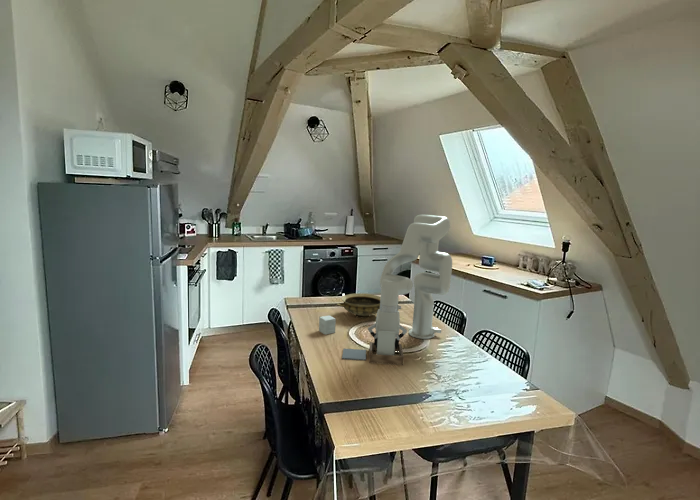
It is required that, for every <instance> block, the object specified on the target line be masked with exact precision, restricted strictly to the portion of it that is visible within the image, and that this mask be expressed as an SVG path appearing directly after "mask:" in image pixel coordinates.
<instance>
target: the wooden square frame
mask: <svg viewBox="0 0 700 500" xmlns="http://www.w3.org/2000/svg"><path fill="white" fill-rule="evenodd" d="M374 350H375V351H374ZM376 350H377V348H376V345H374V341H372V342H371V341H369V350H368V352H369V354H368V356H369V358H368V359H369V364H381V365H395V366H396V365H397V366H404V360H405V357H404V351H403V346H402V344H401V343H399V347H397V349H395V351H397V352H396V353H398V355H395V354H394V355H378V354H377V353H375V354H374V353H373V352H377V351H376ZM398 351H399V352H398Z"/></svg>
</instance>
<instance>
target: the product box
mask: <svg viewBox="0 0 700 500" xmlns="http://www.w3.org/2000/svg"><path fill="white" fill-rule="evenodd" d="M318 320H319V321H318V332H319V333H321V334H323V335H325V336H326V335H329V334H334V333H336V321H337V320H336V318H335V317H333V316H331V315H323V316H319V319H318Z"/></svg>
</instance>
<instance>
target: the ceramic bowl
mask: <svg viewBox="0 0 700 500" xmlns="http://www.w3.org/2000/svg"><path fill="white" fill-rule="evenodd" d="M380 297H381V295H380V296H379V295H375V294H370V293H349V294H345V295H342V296H341V301H342V302H343V303H342V302H341V303H340V302H338V303H336V306H338V307H342V308H344V309H345V311H346V312H348V313H350V314H353V315H355V317H356V318H359V319H368V318H370V317H371V316H372V315H377V312H378V309H380Z"/></svg>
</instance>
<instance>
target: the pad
mask: <svg viewBox="0 0 700 500" xmlns="http://www.w3.org/2000/svg"><path fill="white" fill-rule="evenodd" d="M341 359H342V360H351V361H363V362H364V361H365V362H366V360H367V349H357V348H343V350H342V356H341Z"/></svg>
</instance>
